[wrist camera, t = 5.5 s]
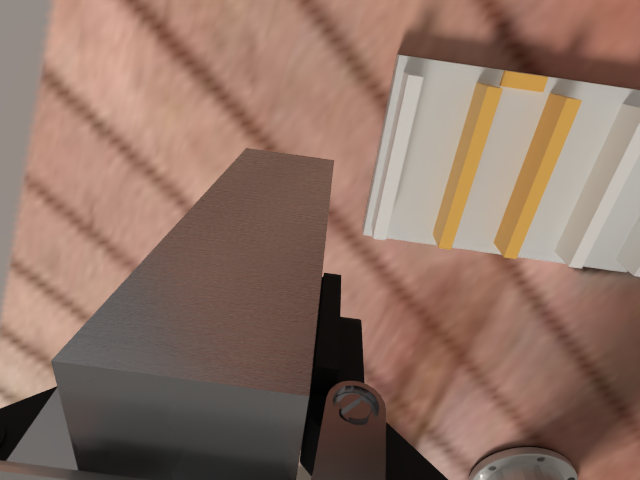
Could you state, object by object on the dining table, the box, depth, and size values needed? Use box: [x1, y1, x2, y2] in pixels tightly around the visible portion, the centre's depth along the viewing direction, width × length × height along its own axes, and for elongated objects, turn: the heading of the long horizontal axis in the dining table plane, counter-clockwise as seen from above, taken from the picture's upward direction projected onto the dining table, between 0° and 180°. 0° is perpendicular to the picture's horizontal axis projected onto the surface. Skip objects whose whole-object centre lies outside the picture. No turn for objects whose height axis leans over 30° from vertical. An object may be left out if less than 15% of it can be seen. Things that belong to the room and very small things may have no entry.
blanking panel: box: [51, 148, 334, 480], centre depth 11 cm, size 8×3×10 cm, turn 173°
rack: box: [363, 54, 640, 277], centre depth 30 cm, size 14×23×4 cm, turn 83°
